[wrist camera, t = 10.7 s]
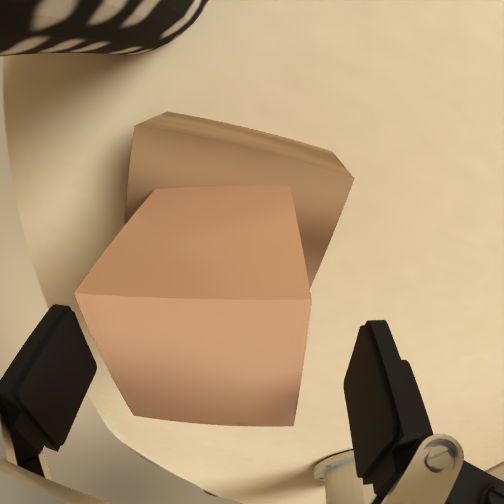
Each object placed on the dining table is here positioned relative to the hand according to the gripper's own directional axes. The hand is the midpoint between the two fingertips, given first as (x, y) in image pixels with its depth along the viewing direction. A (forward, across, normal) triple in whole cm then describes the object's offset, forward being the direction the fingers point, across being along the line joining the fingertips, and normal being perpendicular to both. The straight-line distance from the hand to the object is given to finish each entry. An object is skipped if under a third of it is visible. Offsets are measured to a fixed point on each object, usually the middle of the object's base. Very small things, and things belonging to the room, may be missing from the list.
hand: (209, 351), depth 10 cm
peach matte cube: (+6, 0, -1) cm, 6 cm away
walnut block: (+10, 0, -1) cm, 11 cm away
